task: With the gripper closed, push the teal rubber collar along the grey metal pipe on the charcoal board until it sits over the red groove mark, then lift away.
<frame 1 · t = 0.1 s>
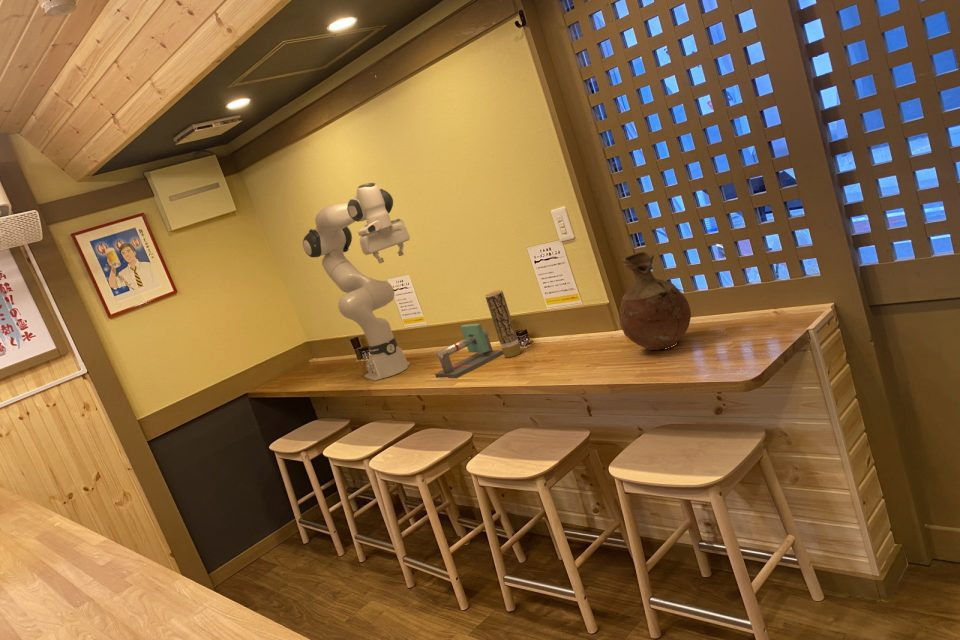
hand: (391, 259, 279), 48 cm above the table, tool pointing down, fingers open, 8 cm apart
pipe rig: (465, 351, 280), on the base board, point 6 cm above the table
jug: (662, 346, 226), on the table
base board: (470, 365, 281), on the table
bark covered log: (513, 355, 276), on the table
collar: (474, 338, 282), point 9 cm above the table, slide at 6.0 cm
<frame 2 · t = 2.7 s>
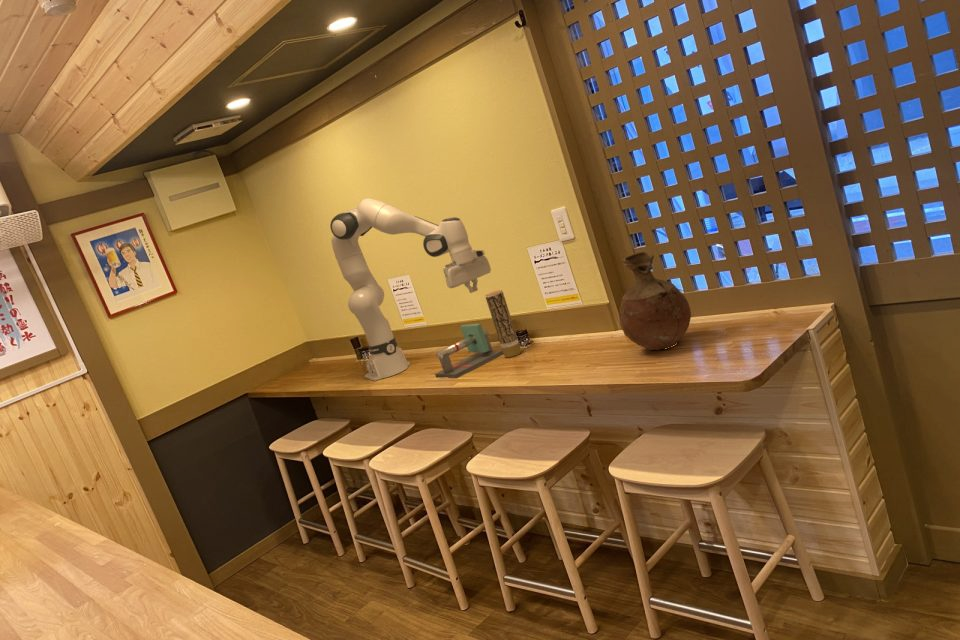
hand: (474, 291, 283), 26 cm above the table, tool pointing down, fingers closed
nothing on the table moved.
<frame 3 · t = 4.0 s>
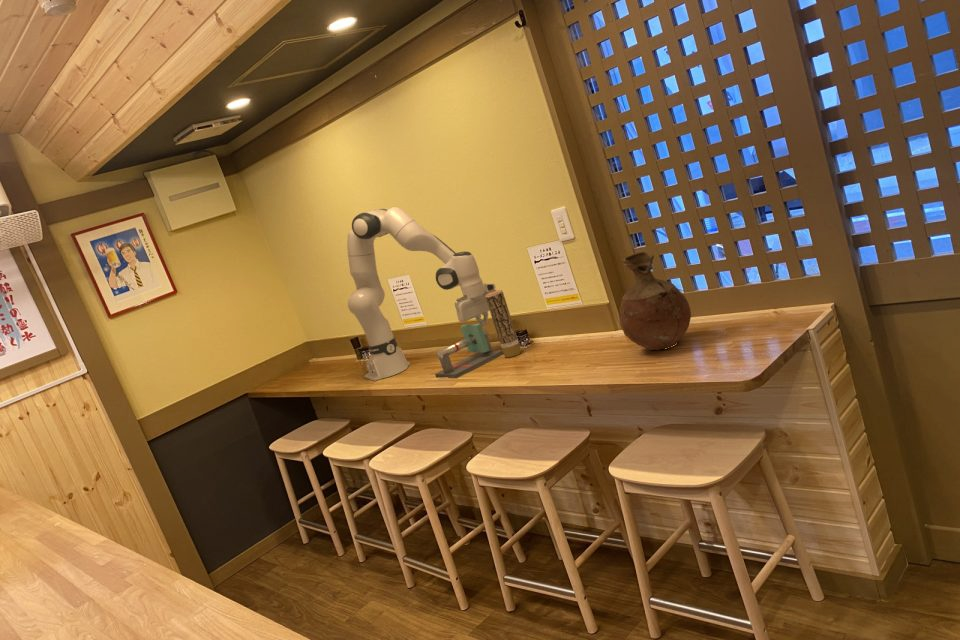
hand: (484, 324, 286), 12 cm above the table, tool pointing down, fingers closed
nothing on the table moved.
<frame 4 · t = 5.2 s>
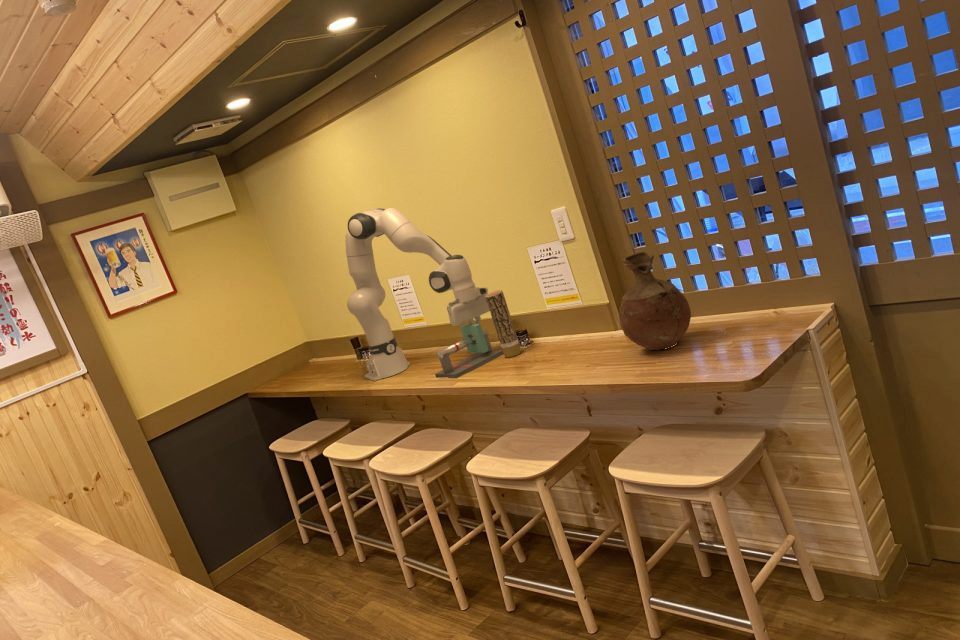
hand: (477, 328, 283), 12 cm above the table, tool pointing down, fingers closed
collar: (474, 338, 282), point 9 cm above the table, slide at 5.7 cm, touching gripper
everything else where it was.
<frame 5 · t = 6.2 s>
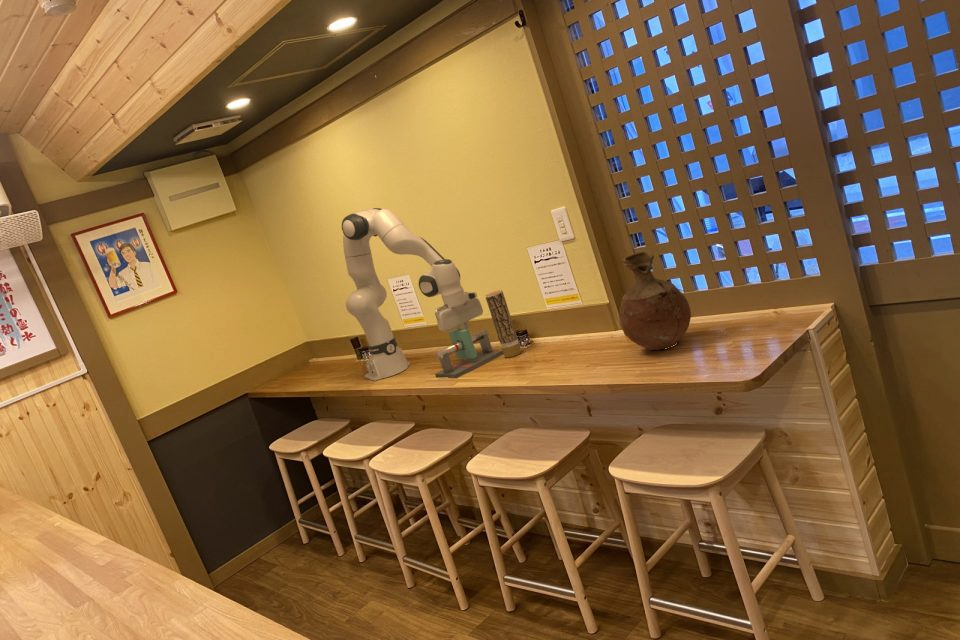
hand: (465, 334, 280), 12 cm above the table, tool pointing down, fingers closed
collar: (462, 344, 279), point 9 cm above the table, slide at -0.1 cm, touching gripper
everything else where it was.
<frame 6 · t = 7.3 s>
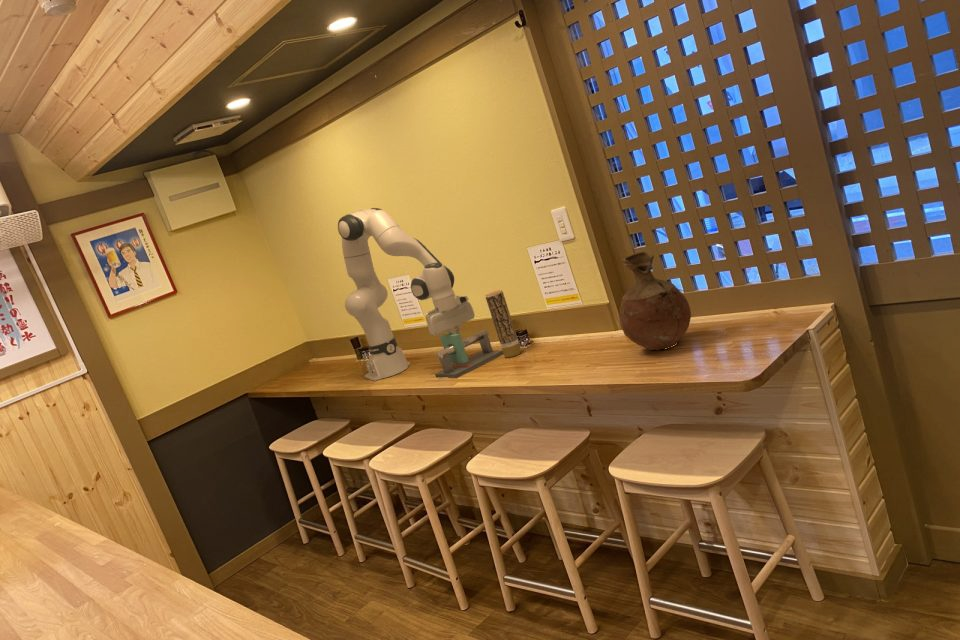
hand: (457, 338, 278), 12 cm above the table, tool pointing down, fingers closed
collar: (454, 348, 276), point 9 cm above the table, slide at -4.5 cm, touching gripper
everything else where it was.
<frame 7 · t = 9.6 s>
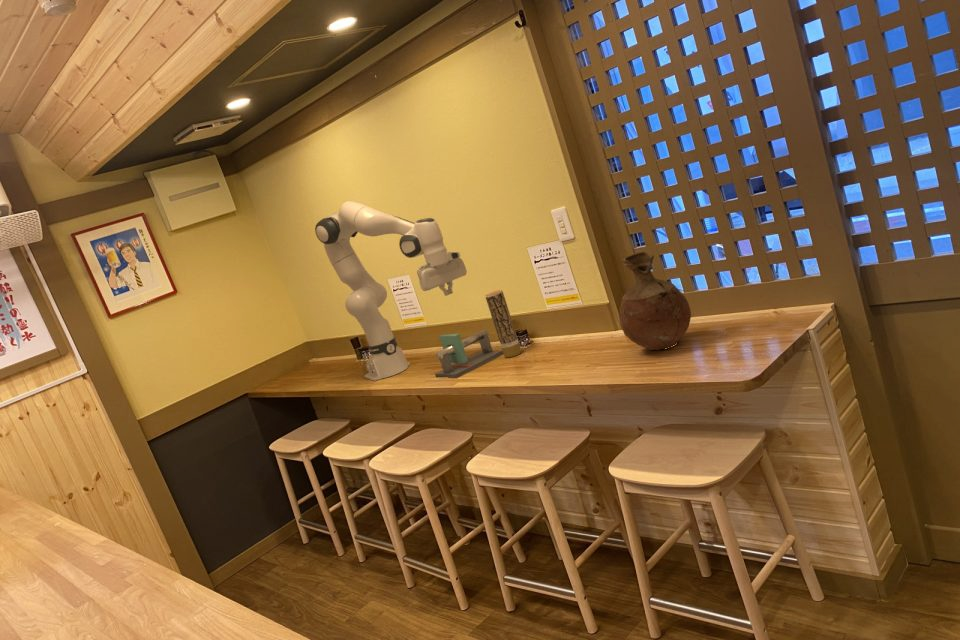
hand: (449, 294, 276), 29 cm above the table, tool pointing down, fingers closed
collar: (453, 348, 276), point 9 cm above the table, slide at -4.8 cm
everything else where it was.
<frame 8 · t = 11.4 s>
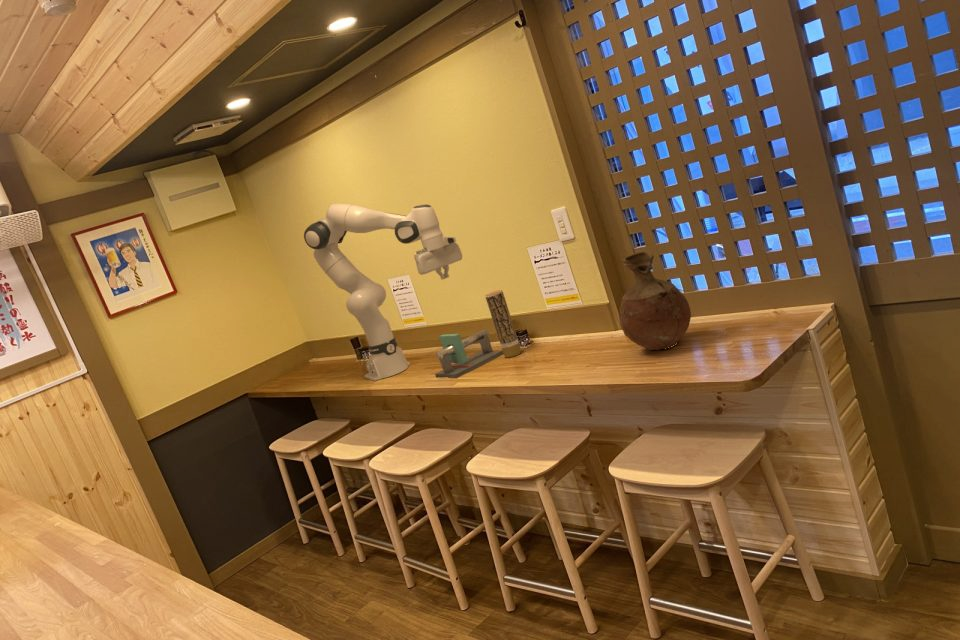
hand: (445, 278, 285), 34 cm above the table, tool pointing down, fingers closed
nothing on the table moved.
at the end: collar slide at -4.8 cm; the gripper is holding nothing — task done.
